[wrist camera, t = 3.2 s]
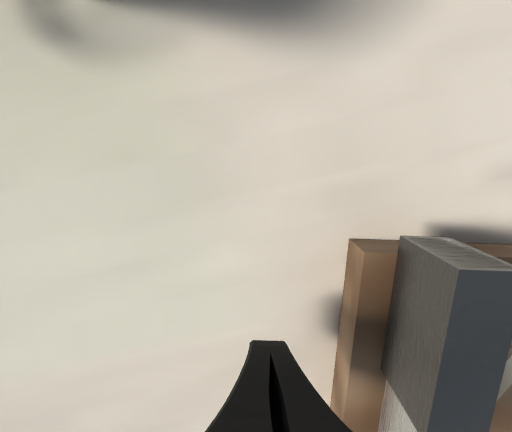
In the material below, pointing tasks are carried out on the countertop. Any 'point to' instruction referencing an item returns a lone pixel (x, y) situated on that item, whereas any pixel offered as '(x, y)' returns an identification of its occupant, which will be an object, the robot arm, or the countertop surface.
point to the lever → (445, 337)
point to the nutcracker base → (383, 336)
